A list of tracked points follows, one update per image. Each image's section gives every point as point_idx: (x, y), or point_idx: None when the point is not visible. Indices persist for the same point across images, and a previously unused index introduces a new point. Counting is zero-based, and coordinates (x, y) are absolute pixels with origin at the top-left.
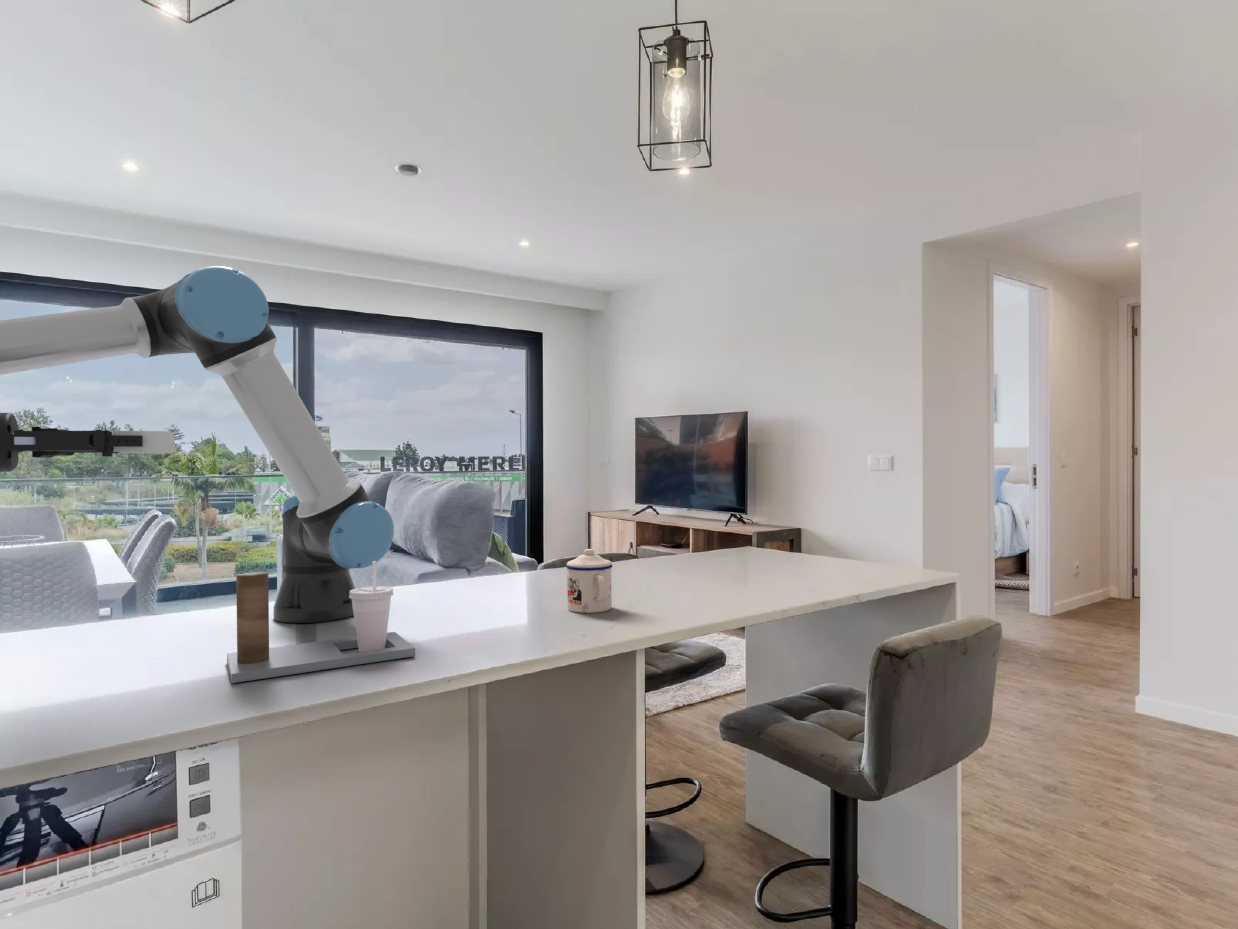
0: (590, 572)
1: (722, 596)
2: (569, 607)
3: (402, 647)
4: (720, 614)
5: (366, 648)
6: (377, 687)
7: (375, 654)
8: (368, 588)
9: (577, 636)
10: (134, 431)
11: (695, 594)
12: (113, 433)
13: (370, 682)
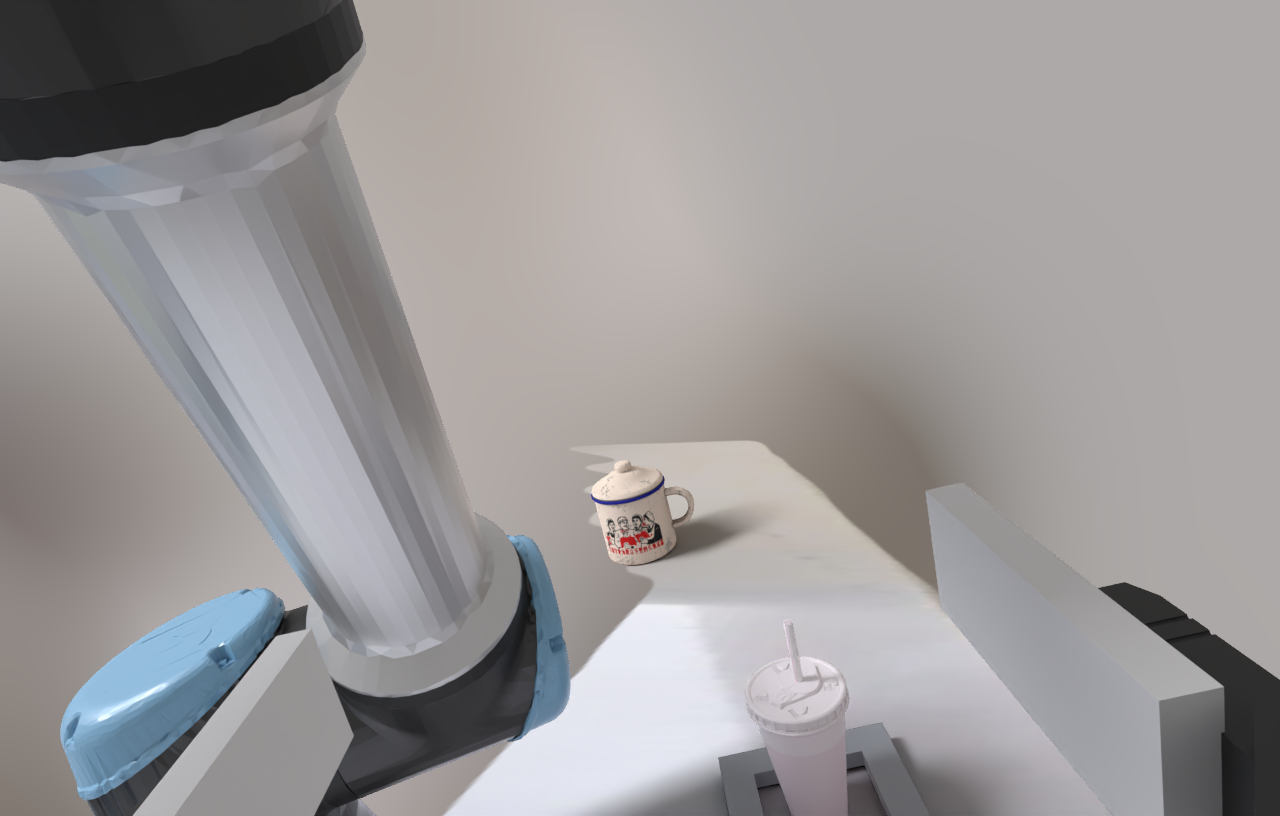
0: (660, 490)
1: (662, 461)
2: (641, 560)
3: (870, 741)
4: (757, 467)
5: (845, 803)
6: None
7: (913, 784)
8: (787, 690)
9: (813, 563)
10: (1101, 591)
11: None
12: (1220, 710)
13: (1076, 804)
